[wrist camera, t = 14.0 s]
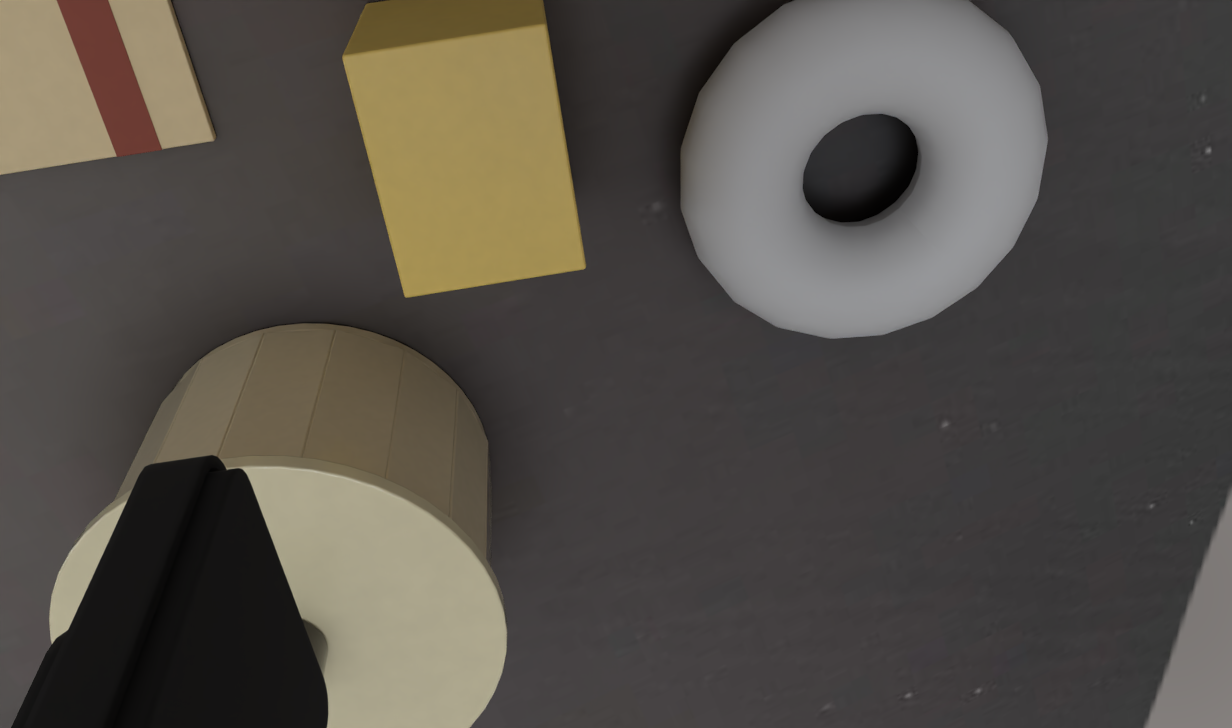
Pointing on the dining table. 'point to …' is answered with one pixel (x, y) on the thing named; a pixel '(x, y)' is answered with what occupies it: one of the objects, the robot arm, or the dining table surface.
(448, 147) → the cheese
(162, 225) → the dining table surface
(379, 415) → the pot
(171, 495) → the robot arm
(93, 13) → the cloth
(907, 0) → the donut
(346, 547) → the pot lid
